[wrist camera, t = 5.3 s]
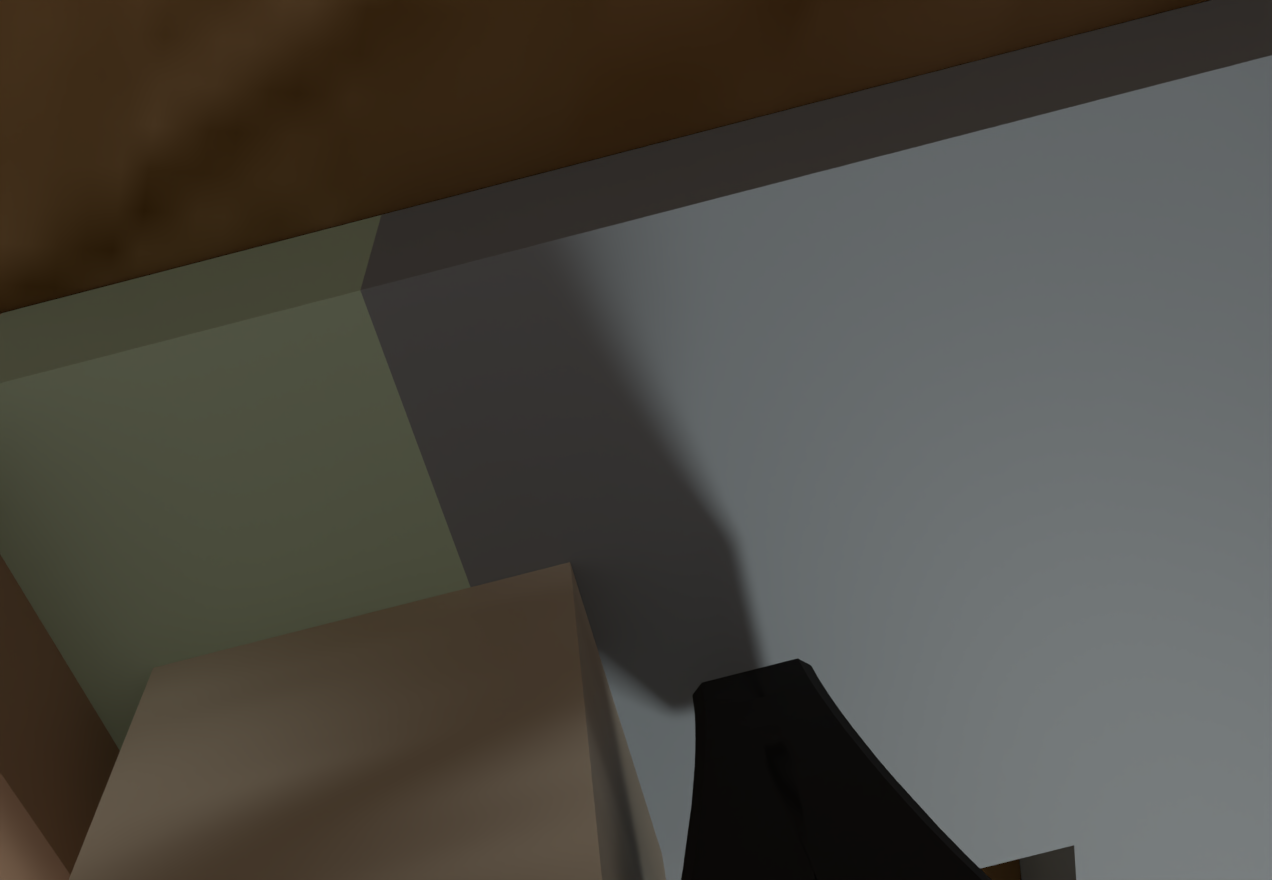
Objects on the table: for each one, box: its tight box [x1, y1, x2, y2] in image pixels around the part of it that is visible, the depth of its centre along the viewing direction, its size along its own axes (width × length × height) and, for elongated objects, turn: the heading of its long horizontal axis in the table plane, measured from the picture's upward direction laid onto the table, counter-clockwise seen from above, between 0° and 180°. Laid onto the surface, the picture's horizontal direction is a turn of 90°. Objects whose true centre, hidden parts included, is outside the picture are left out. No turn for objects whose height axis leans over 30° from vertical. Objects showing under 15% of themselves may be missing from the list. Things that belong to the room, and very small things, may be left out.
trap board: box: [0, 0, 1272, 880], centre depth 13 cm, size 20×15×4 cm
